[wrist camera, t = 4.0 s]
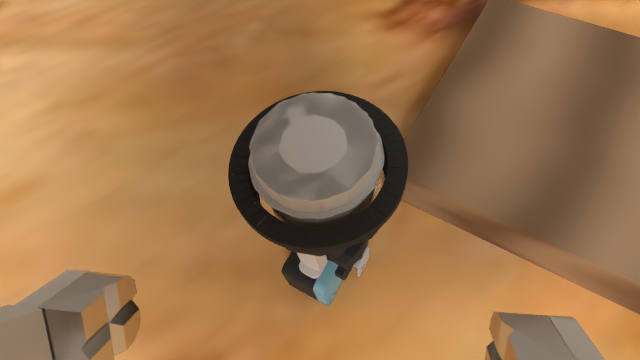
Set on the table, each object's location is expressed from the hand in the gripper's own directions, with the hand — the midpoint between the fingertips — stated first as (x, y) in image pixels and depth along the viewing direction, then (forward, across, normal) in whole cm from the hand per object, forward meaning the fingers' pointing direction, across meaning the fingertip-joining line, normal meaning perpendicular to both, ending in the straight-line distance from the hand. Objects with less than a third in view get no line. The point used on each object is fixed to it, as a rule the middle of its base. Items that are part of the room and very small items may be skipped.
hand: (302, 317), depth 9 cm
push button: (+11, 0, +3) cm, 11 cm away
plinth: (+15, -10, -1) cm, 18 cm away
